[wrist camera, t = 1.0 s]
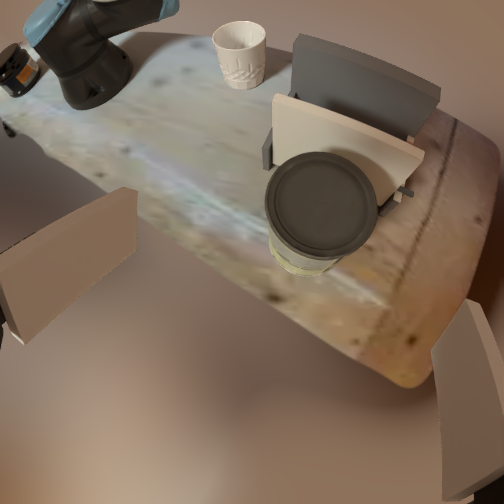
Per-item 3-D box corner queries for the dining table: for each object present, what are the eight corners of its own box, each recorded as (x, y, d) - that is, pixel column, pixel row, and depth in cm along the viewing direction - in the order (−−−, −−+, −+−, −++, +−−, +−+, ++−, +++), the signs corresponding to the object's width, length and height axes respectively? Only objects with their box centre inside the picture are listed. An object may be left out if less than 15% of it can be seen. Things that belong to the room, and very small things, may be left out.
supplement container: (48, 67, 53) (25, 39, 41) (24, 100, 51) (-3, 74, 39) (29, 67, 54) (7, 42, 42) (7, 98, 52) (-18, 75, 41)
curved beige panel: (275, 156, 42) (276, 92, 28) (397, 205, 39) (444, 161, 26) (272, 163, 42) (272, 101, 28) (395, 213, 39) (442, 171, 25)
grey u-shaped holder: (294, 103, 45) (299, 33, 30) (402, 145, 42) (441, 88, 27) (263, 168, 43) (258, 103, 28) (384, 217, 40) (432, 172, 26)
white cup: (229, 59, 47) (222, 18, 38) (272, 65, 47) (271, 23, 37) (215, 89, 46) (204, 47, 36) (260, 96, 45) (257, 53, 35)
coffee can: (273, 197, 42) (272, 144, 28) (347, 207, 41) (378, 160, 27) (261, 271, 40) (256, 250, 26) (340, 282, 39) (374, 266, 25)
